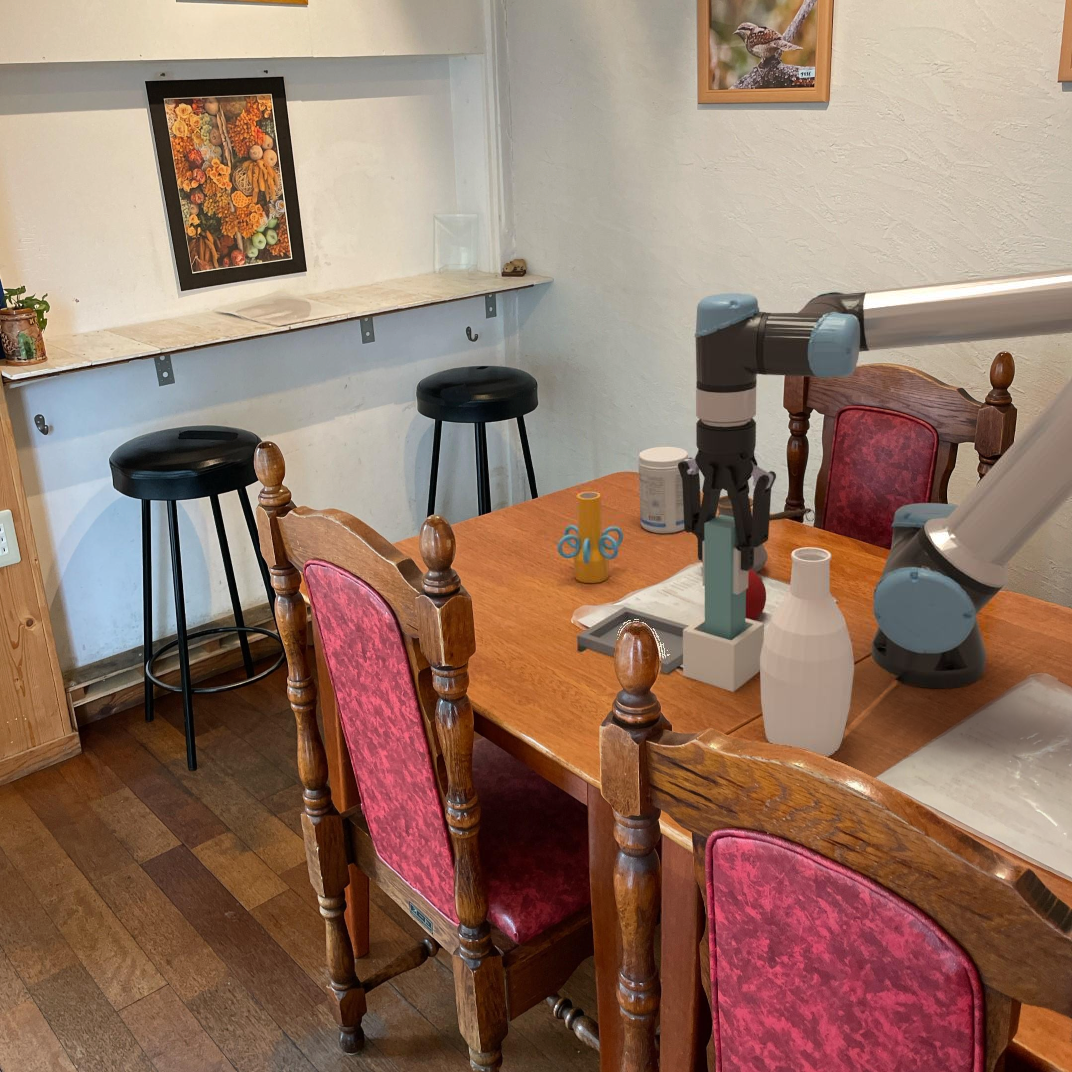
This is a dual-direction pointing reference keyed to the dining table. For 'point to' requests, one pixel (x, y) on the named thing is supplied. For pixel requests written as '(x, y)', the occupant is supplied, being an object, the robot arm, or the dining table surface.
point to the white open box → (722, 655)
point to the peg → (722, 580)
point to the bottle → (807, 661)
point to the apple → (755, 596)
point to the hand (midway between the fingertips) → (725, 586)
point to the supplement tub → (661, 489)
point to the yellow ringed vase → (590, 541)
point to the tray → (668, 631)
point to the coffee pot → (760, 551)
